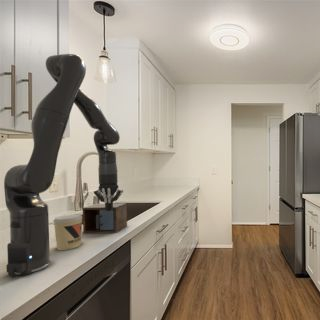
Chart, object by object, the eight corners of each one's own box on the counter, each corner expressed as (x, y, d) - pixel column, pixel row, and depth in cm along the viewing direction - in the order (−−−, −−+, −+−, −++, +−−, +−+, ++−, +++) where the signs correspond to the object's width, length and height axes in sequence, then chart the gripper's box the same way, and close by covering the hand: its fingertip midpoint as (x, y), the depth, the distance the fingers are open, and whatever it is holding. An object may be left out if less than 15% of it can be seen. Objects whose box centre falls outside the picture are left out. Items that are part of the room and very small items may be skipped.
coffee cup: (68, 251, 89) (67, 219, 89) (48, 250, 91) (47, 219, 91) (88, 242, 98) (88, 214, 98) (70, 241, 100) (69, 213, 100)
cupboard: (116, 232, 111) (116, 207, 111) (83, 233, 112) (82, 207, 111) (127, 226, 121) (126, 203, 121) (96, 227, 122) (95, 203, 121)
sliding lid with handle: (108, 232, 108) (108, 211, 107) (94, 232, 108) (94, 212, 108) (114, 229, 112) (113, 209, 112) (100, 229, 112) (100, 209, 112)
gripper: (88, 174, 104) (89, 213, 105) (117, 173, 104) (119, 212, 104) (98, 172, 112) (100, 209, 112) (126, 172, 112) (127, 208, 112)
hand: (109, 210), depth 108 cm, fingers closed
